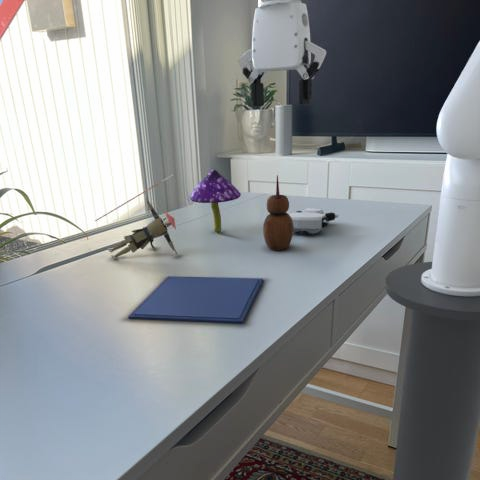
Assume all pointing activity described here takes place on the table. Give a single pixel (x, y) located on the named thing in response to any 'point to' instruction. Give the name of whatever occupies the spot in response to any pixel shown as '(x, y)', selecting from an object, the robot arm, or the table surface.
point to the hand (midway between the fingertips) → (280, 105)
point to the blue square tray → (200, 300)
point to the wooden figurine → (278, 222)
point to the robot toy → (311, 220)
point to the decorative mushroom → (214, 194)
